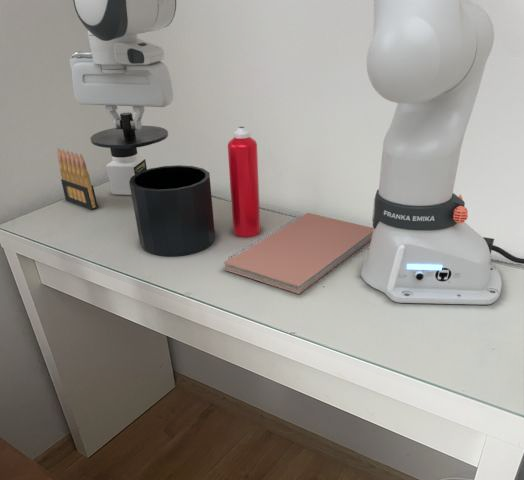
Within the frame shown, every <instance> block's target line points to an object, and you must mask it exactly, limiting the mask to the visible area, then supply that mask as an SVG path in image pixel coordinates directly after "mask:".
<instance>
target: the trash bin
mask: <svg viewBox="0 0 524 480" xmlns="http://www.w3.org/2000/svg"><path fill="white" fill-rule="evenodd" d="M129 184H130V189H131V195H130V196H131V199H132V205H133V211H134V216H135V217H134V218H135V222H136V227H137V228H136V229H137V233H138V239H139V244H140V246H141V248H142V249H143V250H144V251H145V252H146V253H149V254H151V255H155V256H159V257H183V256H188V255H189V256H190V255H194V254H197V253H200V252H203V251H205V250H206V249H208V248H210V247H211V246H212V245H213V244H214V243H215V241H216V232H215V219H214V207H213V199H212V198H213V197H212V188H211V187H212V186H211V175H210V172H209V171H208V170H206V169H204V168H202V167H199V166H194V165H183V164H181V165H179V164H177V165H176V164H175V165H163V166H157V167H152V168H147V170H145V171H142V172H139V173H137V174H135V175H134V176H132V177H131V179H130V182H129Z"/></svg>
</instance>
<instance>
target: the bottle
mask: <svg viewBox="0 0 524 480" xmlns="http://www.w3.org/2000/svg"><path fill="white" fill-rule="evenodd" d="M227 155H228V158H227V159H228V172H229V173H228V174H229V188H230V202H231V203H230V204H231V215H232V232H233V234H234V235H235V236H237V237H240V238H252V237H256V236H257V235H259V234H260V233H261V220H260V219H261V213H260V212H261V211H260V185H259V183H260V182H259V161H258V160H259V159H258V142H257V141H256V140H255V139H254V138H253V137H251V132H250V131H249V130H248V129H247V128H246V127H245V126H238V127H237V129H236V130H235V131H233V138H232V139H230V140H229V141H228V142H227Z"/></svg>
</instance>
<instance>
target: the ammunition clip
mask: <svg viewBox="0 0 524 480" xmlns="http://www.w3.org/2000/svg"><path fill="white" fill-rule="evenodd" d="M56 153H57V159H58V165H59V166H58V167H59V171H60V177H61V179H60V182H61V186H62V190H63V195H64V198H65V201H66V202H69V203H71V204H74V205H77V206H79V207H81V208H85V209H87V210H90V211H93V210H96V209H98V208H99V205H98V201H97V198H96V193H95V190H94V189H95V188H94V185H92V182H91V178H90V174H89V171H88V168H87V165H86V161H85V159H84V157H83V155H82V154H78V153H77V152H75V153H74V152H73V151H69V150H66V151H65V150H64V149H63V148H62V149H60V148H59V147H57V152H56Z"/></svg>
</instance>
